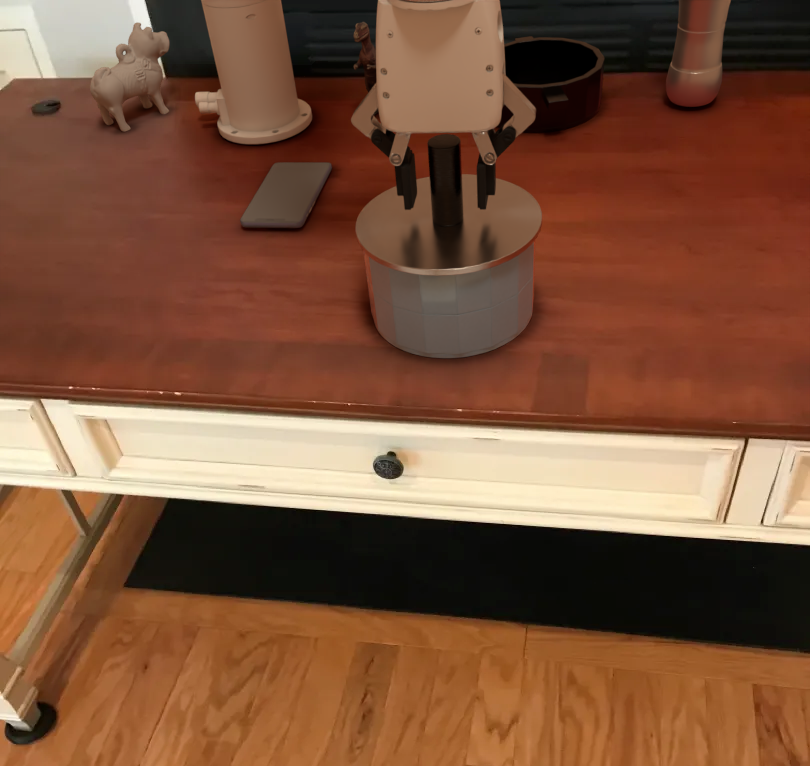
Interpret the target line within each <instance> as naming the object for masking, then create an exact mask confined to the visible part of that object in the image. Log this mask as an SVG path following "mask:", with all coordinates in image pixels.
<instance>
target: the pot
mask: <svg viewBox="0 0 810 766" xmlns="http://www.w3.org/2000/svg"><path fill="white" fill-rule="evenodd" d="M362 251H363V250H362ZM363 258H364V260H363V261H364V265H365V274H366V281H367V289H368V298H369V305H370V313H371V315H372V318H373V322H374V326H375V328H376V330H377V332H378V333H379V334H380V336H381V337H382V338H383V339H384V340H385V341H386V342H387V343H389V344H390V345H392V346H394V347H395V348H397V349H399V350H400V351H404V352H405V353H408V354H413V355H416V356H420V357H424V358H425V357H427V358H432V359H460V358H468V357H473V356H478V355H482V354H486V353H488V352H491V351H494V350H496V349H498V348H501V347H503V346H505V345H506V344H508V343H510V342H511V341H513V340H514V339H516V338H517V337H518V336H520V335H521V333H522V332H523V331H524V330H526V328H527V326H528V325H529V324H530V321H531V319H532V316H533V312H534V301H535V300H534V299H535V274H536V273H535V271H536V270H535V268H536V267H535V266H536V240H535V241H534V242H533V243H532V244H531V245H530V246H529V247H528V248H527V249H526V250H525V251H524V252H522V253H521V254H519V255H518V256H516V257H514V258H513V259H511V260H509V261H507V262H504V263H502V264H500V265H497V266H494V267H491V268H488V269H485V270H481V271H477V272H472V273H466V274H459V275H448V276H430V275H418V274H411V273H406V272H401V271H398V270H394V269H391V268H388V267H386V266H384V265H381V264H379V263H378V262H376V261H374V260H373V259H371V258H370V257H369V256H368V255H366V253H365V252H364V251H363Z"/></svg>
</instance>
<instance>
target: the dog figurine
mask: <svg viewBox="0 0 810 766" xmlns="http://www.w3.org/2000/svg"><path fill="white" fill-rule="evenodd" d="M127 41H128V42H127V44H126V43H119V44H118V45H117V46H116V47H115V54H116V58H117V60H118V63H117V64H115V65H114V66H112V67H108V66H103V67H100V68H98V69H96V70H95V71H94V74H93V76H92V78H91V80H90V84H89V91H90V92H89V93H90V95H91V96H92V98H93V99H94V100H95V102H96V106H97V108H98V110H99V112H100V115H101V118H102V120H103V122H104V123H105V125H106V126H110V125H113V124H114V120H113V118H114V119H115V120H116V122H117V124H118V127H119V129H120V131H121V132H128V131H130V130H131V127H130V125H129V124H128V123H127V122H126V119H125V115H124V110H123V109H124V108H123V104H124V103H125V102H126V101H127V100H129V99H132V98H134V97H138V99H139V101H140V102H141V104H142V107H143V108H144V109H150V108H152V107H153V104H154V105H155V106H156V108H157V109H158V111H159V113H160V114H161V115H166V114H168V113H169V112H170V110H169V109H168V107H167V106H166V105H165V103H164V100H163V99H164V98H163V96H162V93H161V88H162V87H161V86H162V81H163V79H164V73H163V69H162V67H161V65H160V62H159V59H160V58H162V56H164V55H165V54H166V53H168V52H169V49H170V38H169V37H168V33H167V32H165V31H159V32H155V31H153V28H152V27H150V26H145V27H144V28H142V23H141V22H137V21H136V22H135V23H134V24H133V26H132V31H131V33H130V34H129V36H128V39H127ZM124 52H125V54H124ZM149 97H150V98H149ZM150 99H151V100H152V101H151V100H150ZM110 114H111V115H110ZM111 116H113V118H112V117H111Z"/></svg>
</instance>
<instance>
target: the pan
mask: <svg viewBox="0 0 810 766" xmlns="http://www.w3.org/2000/svg"><path fill="white" fill-rule="evenodd" d="M504 51H505V75H506V76H507V77H508V79H509V80H510V81H511V82H512V83H513V84H514V85H515V86H516V87H517V88H518V89H519V90H520V91H521V93H522V94H523V95H524V96H525V97H526V98H527V99H528V100H529V101H530V102H531V103H532V104H533V105H534V107H535V108H536V117H535V120H534V122H533V123H532V124H531V125H530V126H529V127H528V128H526V129H525V130H524V131H523V132H522V133H525V134H526V133H527V134H532V133H533V134H537V133H538V134H539V133H551V132H558V131H563V130H568V129H571V128H574V127H577V126H579V125H581V124H583V123H586V122H587V121H589V120H590V119H592V118H593V117H594V116H596V114H597V113H598V112H599V110H600V107H601V102H602V97H603V85H604V70H605V61H606V60H605V56H604V55H603V53H602V52H601V51H600V49H599V48H598V47H596V46H594V45H591V44H589V43H587V42H585V41H581V40H577V39H576V40H575V39H571V38H566V37H544V36H543V37H542V36H541V37H533V36H532V35H529V36H524V37H523V36H522V37H516V38H514V40H513V41H510V42H507V43H504ZM513 115H514V114H513V113H512V112H511V111H510V110H509V108H508V107H507V106H506V105H505V104H504V106H503V107H502V114H501V120H500V123H499V125H498V126H496V127H495V128H498V129H499V128H500V127H501V126H502V125H503V124H504V123H505V122H507V121H509V120H510V119H511V117H512V116H513Z"/></svg>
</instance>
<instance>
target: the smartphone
mask: <svg viewBox="0 0 810 766" xmlns="http://www.w3.org/2000/svg"><path fill="white" fill-rule="evenodd" d="M332 169H333V165H332V163H331V162H326V161H325V162H321V161H320V162H314V161H309V162H307V161H306V162H305V161H304V162H299V161H297V162H296V161H292V162H291V161H290V162H289V161H287V162H286V161H285V162H283V161H281V162H280V161H278V162H275V163H274V164H272V166H271V167H270V169H269V171H268V172H267V173H266V176H265V177H264V179H263V181H262V183H261V184H260V185H259V188H258V189H257V191H256V192H255V194H254V196H253V197H252V199H251V201H250V202H249V204H248V206H247V207H246V209H245V211H244V212H243V213H242V215H241V217H240V219H239V223H240V225H241V226H242V227H243V228H246V229H247V228H248V229H300V228H302V227H303V226H304V225H305V223H306V221H307V219H308V217H309V216H310V213H311V211H312V210H313V207H314V205H316V201H317V199H318V197H319V195H320V194H321V191H322V189H323V187H324V185H325V183H326V181H327V179H328V177H329V176H330V174H331V171H332Z"/></svg>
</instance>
